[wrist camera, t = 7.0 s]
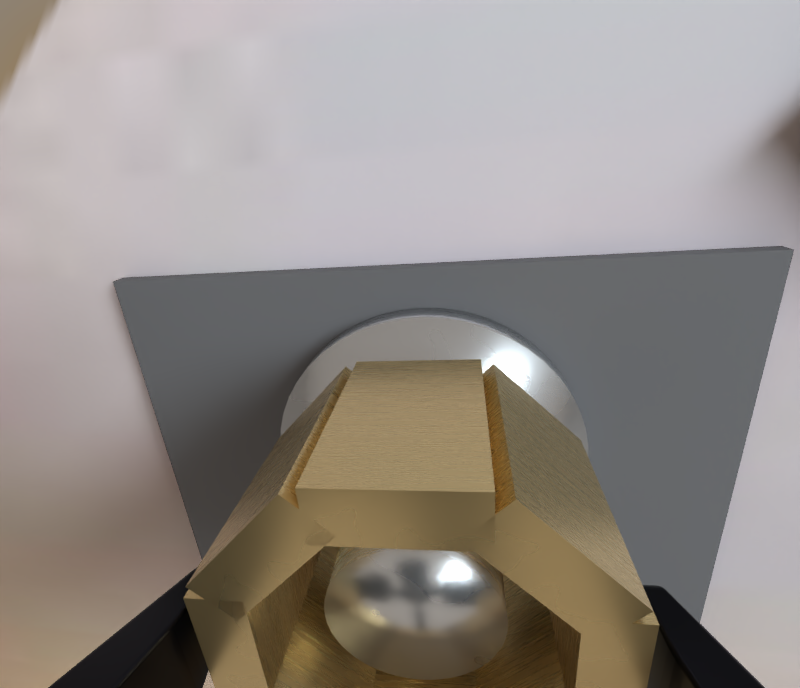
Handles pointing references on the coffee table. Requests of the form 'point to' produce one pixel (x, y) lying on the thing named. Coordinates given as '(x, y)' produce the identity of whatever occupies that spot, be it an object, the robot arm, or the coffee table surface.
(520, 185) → the coffee table surface
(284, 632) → the bronze ring
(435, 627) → the silver rounded piece
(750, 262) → the mat
